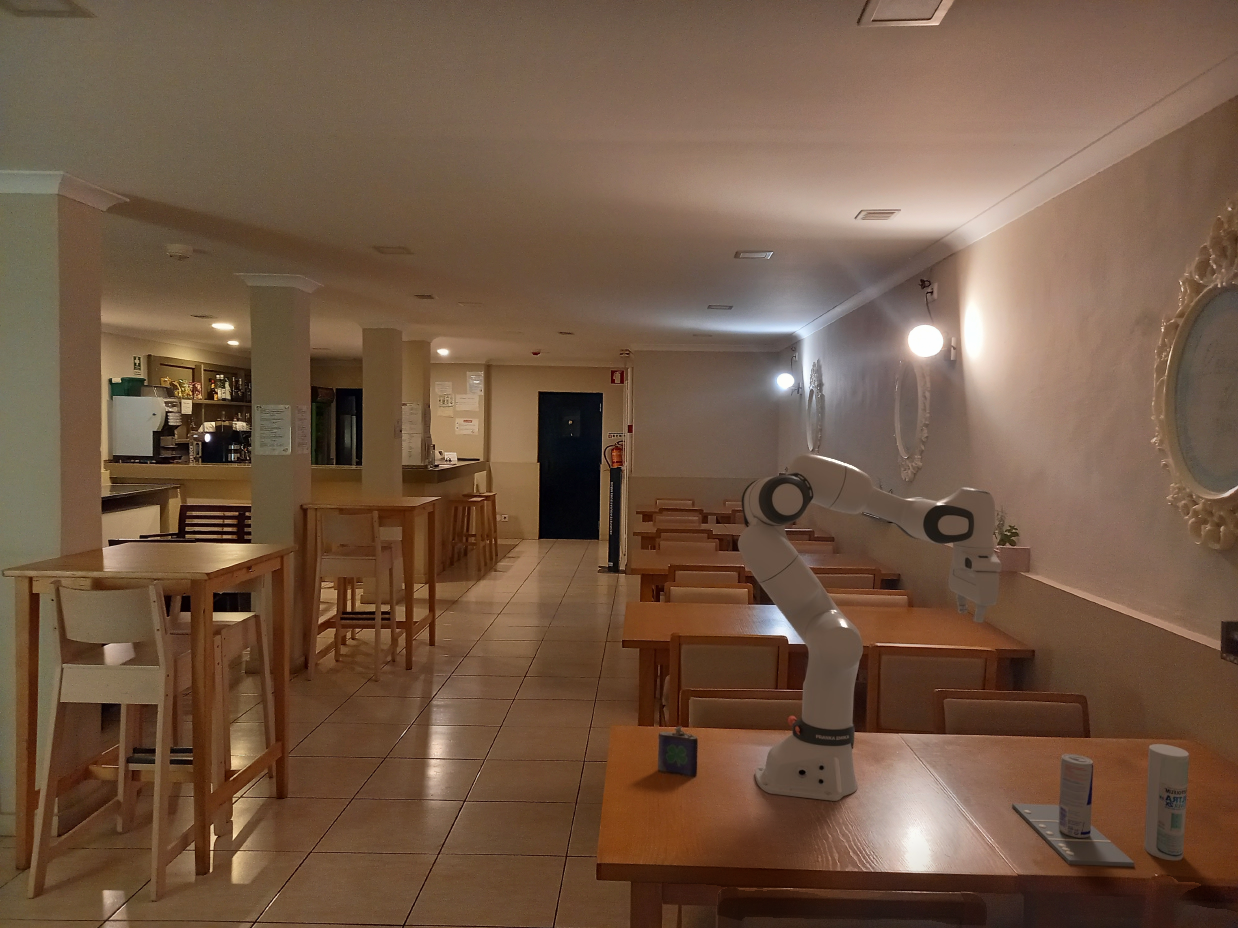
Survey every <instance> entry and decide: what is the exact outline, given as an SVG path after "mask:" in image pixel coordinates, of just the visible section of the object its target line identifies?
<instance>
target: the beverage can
mask: <svg viewBox="0 0 1238 928" xmlns="http://www.w3.org/2000/svg"><path fill="white" fill-rule="evenodd" d="M1060 760H1061V761H1060V777H1059V778H1060V783H1059V803H1058V805H1059V829H1060V830H1061V831H1062V832H1063V833H1064V834H1066V835H1069V836H1072V837H1076V838H1086V837H1088V836H1090V832H1091V825H1092V805H1093V804H1092V803H1093V781H1094V780H1093V778H1094V777H1093V776H1094V761H1093V760H1092V759H1091V758H1089V757H1087V756H1084V755H1079V754H1072V753H1065V754H1064V753H1063V754H1062V755H1061V759H1060Z"/></svg>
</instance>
